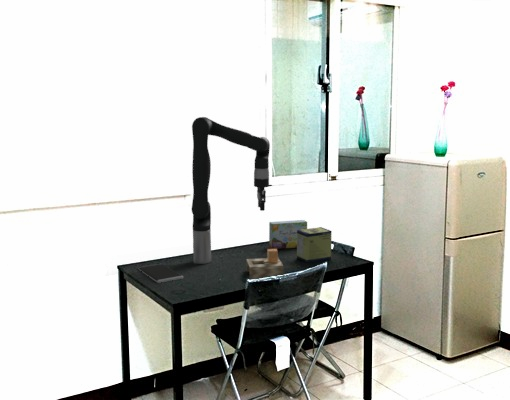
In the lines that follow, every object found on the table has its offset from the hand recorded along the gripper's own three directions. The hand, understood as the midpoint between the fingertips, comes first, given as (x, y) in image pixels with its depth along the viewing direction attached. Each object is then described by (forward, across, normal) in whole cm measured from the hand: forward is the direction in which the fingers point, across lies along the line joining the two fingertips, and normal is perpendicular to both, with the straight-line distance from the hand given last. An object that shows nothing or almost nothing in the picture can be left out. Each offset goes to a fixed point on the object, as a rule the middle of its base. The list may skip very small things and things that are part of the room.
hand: (261, 208), depth 297 cm
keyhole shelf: (+29, +17, 0) cm, 34 cm away
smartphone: (+31, +9, -51) cm, 60 cm away
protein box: (+29, -6, +29) cm, 42 cm away
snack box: (+29, -32, +20) cm, 48 cm away
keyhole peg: (+26, +17, +4) cm, 32 cm away
